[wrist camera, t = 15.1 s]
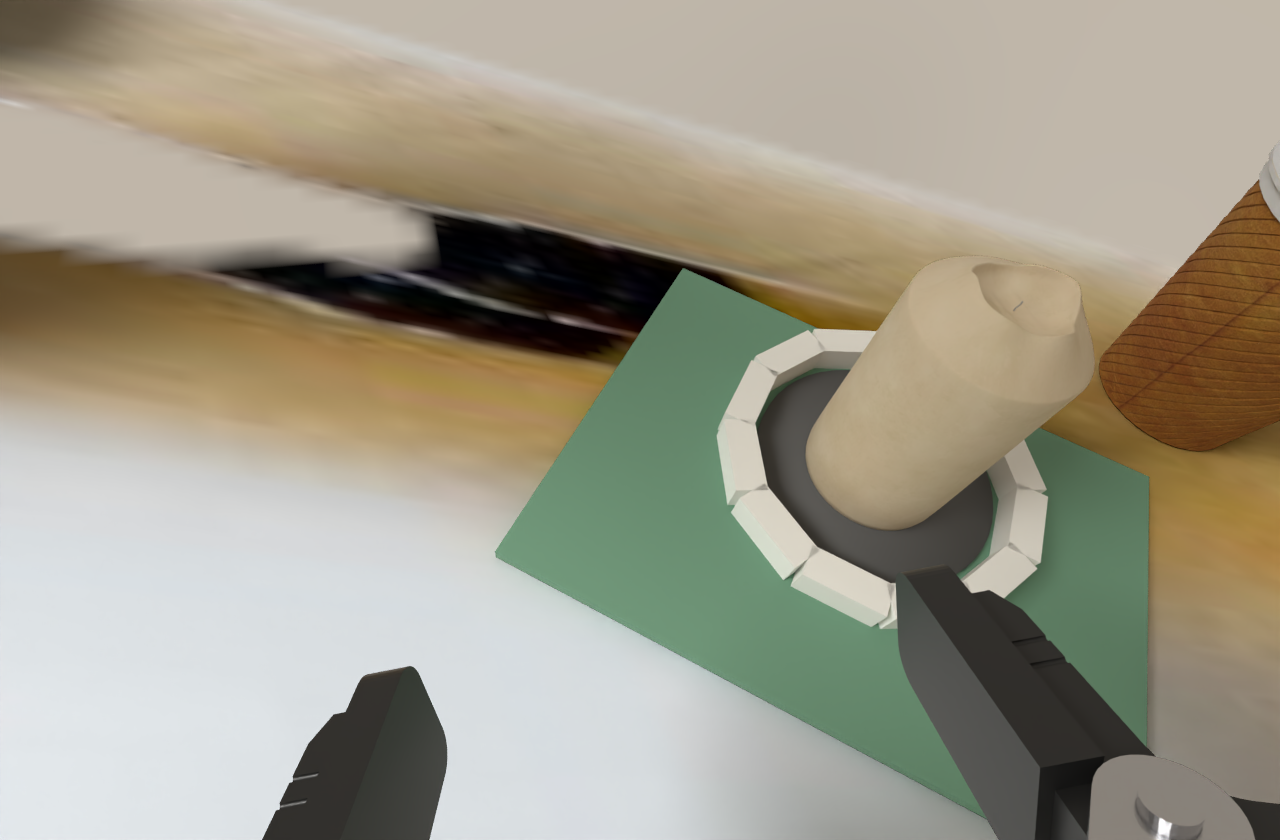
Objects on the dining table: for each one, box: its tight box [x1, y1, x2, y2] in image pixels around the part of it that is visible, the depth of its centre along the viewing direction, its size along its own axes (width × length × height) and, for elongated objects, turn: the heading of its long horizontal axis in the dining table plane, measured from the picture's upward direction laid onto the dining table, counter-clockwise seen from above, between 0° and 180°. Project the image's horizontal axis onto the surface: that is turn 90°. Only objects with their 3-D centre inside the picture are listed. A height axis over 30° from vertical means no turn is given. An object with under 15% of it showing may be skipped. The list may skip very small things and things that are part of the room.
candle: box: [805, 256, 1095, 531], centre depth 22 cm, size 6×6×10 cm
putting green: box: [495, 268, 1149, 819], centre depth 25 cm, size 22×16×2 cm
